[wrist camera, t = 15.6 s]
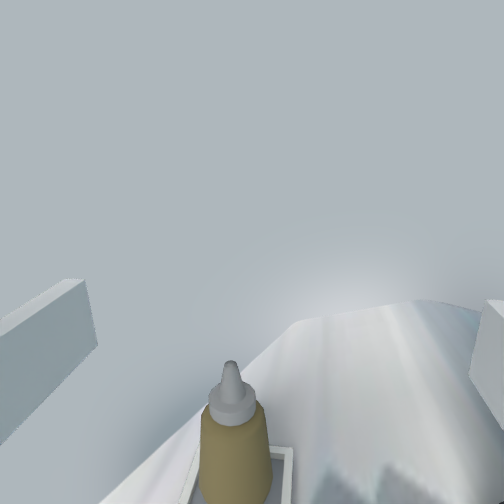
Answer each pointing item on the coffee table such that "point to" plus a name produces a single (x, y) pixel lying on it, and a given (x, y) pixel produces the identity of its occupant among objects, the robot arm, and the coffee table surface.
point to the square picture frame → (280, 487)
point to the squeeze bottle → (234, 444)
